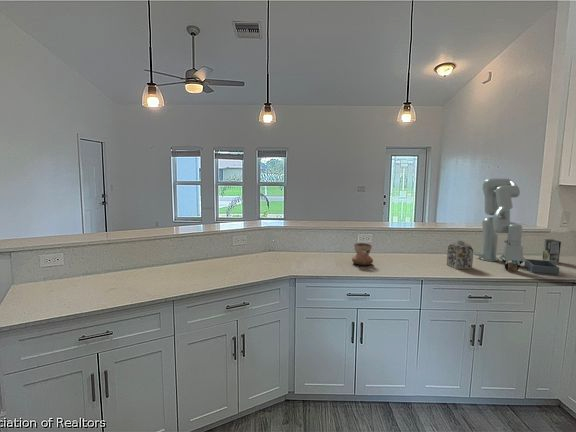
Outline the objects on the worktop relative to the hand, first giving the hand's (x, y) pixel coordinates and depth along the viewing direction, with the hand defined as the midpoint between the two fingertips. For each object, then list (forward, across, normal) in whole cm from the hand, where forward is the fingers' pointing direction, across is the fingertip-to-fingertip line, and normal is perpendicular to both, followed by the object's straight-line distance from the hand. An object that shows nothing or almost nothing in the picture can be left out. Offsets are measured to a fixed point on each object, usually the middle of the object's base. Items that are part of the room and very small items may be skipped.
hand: (511, 269), depth 219 cm
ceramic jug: (+1, -94, -21) cm, 96 cm away
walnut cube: (+1, 0, 0) cm, 1 cm away
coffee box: (+1, +31, +36) cm, 48 cm away
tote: (+1, +18, +8) cm, 20 cm away
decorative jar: (+1, -31, -3) cm, 31 cm away
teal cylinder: (+1, +5, +13) cm, 14 cm away
